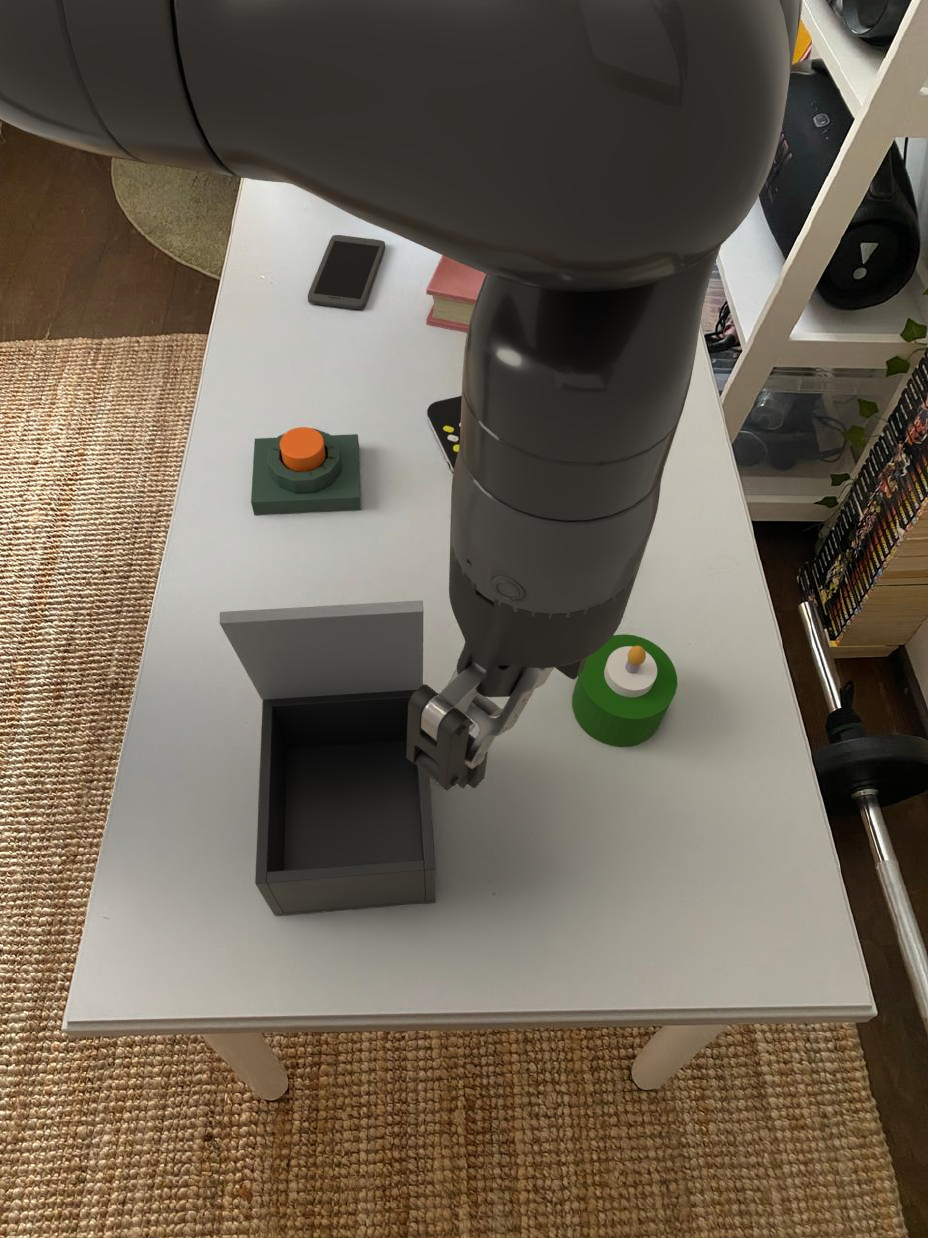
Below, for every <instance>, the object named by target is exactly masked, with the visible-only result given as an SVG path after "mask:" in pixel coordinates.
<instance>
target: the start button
mask: <svg viewBox="0 0 928 1238" xmlns="http://www.w3.org/2000/svg"><path fill="white" fill-rule="evenodd" d="M312 428H313V427H307V426H298V427H295V428H292V429H290V430H287V431H286V432H285V433H283V434H284V435H283V436H282V438H281V440H280V449H281V454H282V458H283V462H284V464H285V465H286V466H287V467H288V468H290V469H291V470H294V471H297V472H308V471H312V470H314V469H316V468H318V467H319V466H320V465H321V464H322V463H323V462H324V460H325V456H326V454H325V447H324V440H323V437H322V435H321V434H320V433H319V432H318V431H316V430H314V429H315V428H313V429H312Z"/></svg>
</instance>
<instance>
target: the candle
mask: <svg viewBox="0 0 928 1238" xmlns="http://www.w3.org/2000/svg"><path fill="white" fill-rule="evenodd" d="M677 688H678V675H677V670H676V668H675V666H674V662H673V661H672V660H671V658H670V657H669V655H668V654H667V652H666V651H664V650H663V649H662V648H661V647H660V646H659V645H657V644H655V643H654V642H653V641H652V640H651V641H650V640H648V639H646V638H644V637H641V636H638V635H635V634H626V633H625V634H614V635H613V636H612V637H611V639H610V640H609V641H608V642H607V643H606V644H605V645H604V646H603V647H602V648H600V649H599V650H598V651H597V652H595V653H594V654H592V655H590V656H589V657H587V659H586V662H585V666H584V669H583V671H582V672H581V673H580V674H579V675H578V676H577V677H576V681H575V685H574V689H573V692H572V696H571V697H572V698H571V706H572V712H573V715H574V717H575V721H577V723H578V724H579V726H580V727H581V728H582V730H583V731H584V732H585V733H586V734H587V735H589V737H591V738H593V739H594V740H596V741H598V742H600V743H602V744H605V745H608V746H611V747H618V748H625V747H626V748H628V747H633V746H637V745H640V744H642V743H644V742H646V741H648V740H649V739H651V738H652V737H653V736H654V735H655V733H657V731H658V730H659V727H660V726H661V724H662V721H663V720H664V718H665V716H666V713H667V711H668V709H669V708H670V705H671V703H672V702H673V700H674V698H675V695H676V693H677Z"/></svg>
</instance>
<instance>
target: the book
mask: <svg viewBox="0 0 928 1238" xmlns="http://www.w3.org/2000/svg"><path fill="white" fill-rule="evenodd" d="M485 275H486V273H483V272H481V271H478V270H475V269H473V268H471V267H468V266H466V265H464V264H462V263H459V262H457V261H455V260H452V259H450V258H448V257H446V256H443V255H441V257H440V259H439V261H438V263H437V266H436V267H435V270H434V272H433V274H432V275H431V278H430V280H429V282H428V285H427V287H426V289H425V295H428V296H432V299H433V303H432V306H431V308H430V310H429V313H428V315H427V316H426V319H425V320H426V321H425V322H426V325H429V326H434V327H439V328H442V329H448V330H453V331H458V332H462V333H467V332H468V327H469V323H470V319H471V315H472V311H473V308H474V305H475V302H476V299H477V296H478V293H479V291H480V288H481V285H482V283H483V280H484V278H485Z"/></svg>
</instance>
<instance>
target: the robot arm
mask: <svg viewBox="0 0 928 1238" xmlns="http://www.w3.org/2000/svg"><path fill="white" fill-rule="evenodd" d="M802 10H803V0H0V120H1V121H3V122H5V123H7V124H9V125H11V126H13V127H16V128H17V129H20V130H22V131H24V132H26V133H29V134H32V135H34V136H37V137H40V138H42V139H44V140H47V141H51V142H53V143H57V144H60V145H63V146H67V147H69V148H73V149H77V150H80V151H84V152H87V153H91V154H96V155H100V156H104V157H109V158H114V159H119V160H123V161H130V162H136V163H143V164H149V165H158V166H164V167H170V168H177V169H181V170H182V169H183V170H189V171H195V172H201V173H202V172H203V173H208V174H215V175H222V176H228V177H233V178H240V179H248V180H251V181H261V182H262V181H263V182H272V183H284V184H289V185H293V186H295V187H297V188H299V189H301V190H303V191H305V192H307V193H310V195H313V196H315V197H318V198H319V199H321V200H323V201H325V202H327V203H329V204H330V205H333V206H334V207H336V208H338V209H339V210H341V211H343V212H346V213H348V214H349V215H352V216H354V217H356V218H357V219H360V220H362V221H364V222H365V223H368V224H371V225H372V226H376V227H378V228H381V229H383V230H385V231H388V232H390V233H393V234H394V235H397V236H399V237H401V238H403V239H406V240H408V241H410V242H413V243H415V244H417V245H420V246H421V247H424V248H426V249H427V250H430V251H432V252H435V253H437V254H439V255H441V256H442V255H443V256H446V257H448V258H450V259H452V260H455V261H457V262H459V263H462V264H464V265H466V266H468V267H471V268H473V269H475V270H478V271H481V272H483V273H486V275H485V278H484V280H483V283H482V285H481V288H480V291H479V293H478V296H477V299H476V302H475V305H474V308H473V311H472V315H471V319H470V323H469V327H468V332H466V338H465V344H464V351H463V365H462V375H461V376H462V377H461V378H462V379H461V381H462V382H461V396H462V400H461V428H460V445H459V451H458V455H457V459H456V463H455V468H454V473H452V479H451V497H450V526H449V527H450V529H449V531H450V532H449V565H448V566H449V567H448V568H449V569H448V570H449V571H448V597H449V603H450V606H451V610H452V612H453V615H454V618H455V621H456V623H457V625H458V628H459V629H460V632H461V635H462V637H463V639H464V646H463V648H462V650H461V652H460V655H459V657H458V659H457V663H456V668H455V669H454V671H453V673H452V675H451V677H450V679H449V681H448V683H447V685H446V686H445V687H444V688H443V689H441V691H440V692H439V693H438V692H437V691H435V689H434V688H432V687H431V686H430V685H428V684H427V683H423V685H422V686H421V687H419V688H418V689H417V690H416V691H415V692H414V693H413V694H412V696H411V698H410V700H409V703H408V724H407V754H406V757H407V759H408V760H410V761H411V762H412V763H413V764H416V765H417V766H418V767H420V768H421V769H422V770H423V771H424V772H426V773H427V774H428V775H429V778H431V779H432V780H433V781H435V782H436V783H437V785H438V786H439V787H441V788H442V790H444V791H446V792H447V791H450V790H451V789H452V788H454V787H455V786H457V785H458V786H459V787H460V788H461V789H465V788H466V787H467V786H468V787H470V788H473V789H476V788H477V787H478V786H479V785H480V784H481V783H482V782H483V780H484V779H485V778H486V777H485V776H486V770H487V761H488V753H489V752H488V751H489V749H490V747H491V745H492V744H493V742H494V740H495V739H496V737H499V736H500V735H502V734H504V733H506V732H507V731H510V729H512V728H514V726H515V724H516V723H517V721H518V720H519V718H520V716H521V714H522V712H523V711H524V709H525V707H526V705H527V704H528V702H529V700H530V699H531V697H532V695H533V693H534V692H535V690H536V689H538V688H540V687H542V686H543V685H545V683H546V682H547V680H548V678H549V677H550V675H551V673H552V672H553V670H554V668H555V669H556V670H557V671H559V672H561V674H563V675H564V676H566V677H567V678H568V679H570V680H577V678H578V675H579V674H580V673H581V672H582V671H583V669H584V666H585V662H586V659H587V657H589V656H590V655H592V654H594V653H595V652H597V651H598V650H599V649H600V648H602V647H603V646H604V645H605V644H606V643H607V642H608V641H609V640H610V639H611V637H612V636H613V635H615V633H616V632H617V631H618V629H619V627H620V625H621V623H622V620H623V618H624V615H625V612H626V609H627V605H628V603H629V600H630V597H631V594H632V590H633V589H634V584H635V582H636V579H637V576H638V573H639V571H640V567H641V564H642V561H643V557H644V555H645V552H646V549H647V546H648V543H649V540H650V536H651V534H652V530H653V528H654V525H655V521H656V518H657V513H658V510H659V503H660V495H661V487H662V478H663V474H664V471H665V467H666V464H667V461H668V458H669V455H670V452H671V450H672V449H671V448H672V446H673V442H674V439H675V437H676V433H677V430H678V426H679V425H680V424H679V423H680V420H681V417H682V414H683V411H684V409H685V406H686V405H685V404H686V401H687V400H686V399H687V397H688V393H689V390H690V386H691V382H692V376H693V370H694V366H695V365H694V364H695V360H696V354H697V347H698V341H699V333H700V327H701V320H702V315H703V308H704V303H705V300H706V299H705V298H706V296H707V295H706V294H707V290H708V287H709V284H710V279H711V277H712V273H713V271H714V268H715V264H716V261H717V258H718V256H719V253H720V250H721V247H722V246H723V244H724V243H725V242H726V241H727V240H728V239H729V238H730V237H731V236H732V235H733V234H734V232H735V231H736V230H738V228H739V227H740V226H741V224H742V223H743V222H744V221H745V219H746V218H747V217H748V215H749V213H750V212H751V211H752V209H753V207H754V205H755V203H756V201H757V200H758V198H759V196H760V193H761V191H762V190H763V187H764V186H765V183H766V181H767V179H768V177H769V174H770V172H771V170H772V167H773V164H774V161H775V158H776V153H777V150H778V147H779V142H780V138H781V134H782V130H783V129H782V128H783V123H784V119H785V112H786V107H787V100H788V92H789V82H790V77H791V73H792V66H793V61H794V56H795V51H796V46H797V42H798V41H797V39H798V34H799V28H800V24H801V23H800V22H801V16H802ZM505 697H506V698H508V697H509V698H508V699H507V701H506V702H505V704H504V707H503V708H501V707H500V706H498V705H497V704H496V703H495V702H494V701H492V700H491V699H490V698H505ZM475 723H476V724H477V725H478V728H479V729H478V730H479V731H478V733H477V735H476V737H474V736H473V735H472V734H470V733H471V732H472V731H473V730H474V729H475V727H476V724H475Z"/></svg>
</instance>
